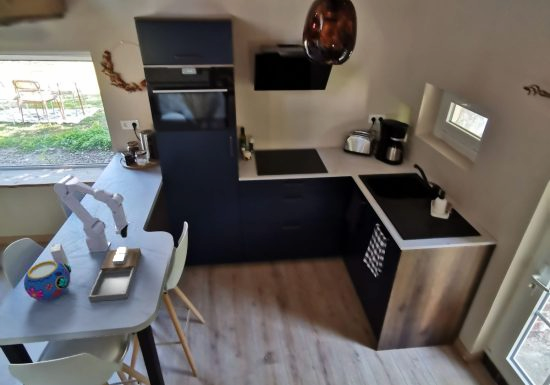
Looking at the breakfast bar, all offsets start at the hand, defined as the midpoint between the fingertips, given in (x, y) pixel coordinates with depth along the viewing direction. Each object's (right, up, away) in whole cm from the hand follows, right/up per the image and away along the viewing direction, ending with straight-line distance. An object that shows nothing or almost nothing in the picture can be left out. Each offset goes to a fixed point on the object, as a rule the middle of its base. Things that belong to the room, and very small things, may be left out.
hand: (124, 236), depth 180 cm
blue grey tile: (+2, -11, -9) cm, 14 cm away
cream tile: (+1, -8, -4) cm, 9 cm away
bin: (+4, -21, -19) cm, 29 cm away
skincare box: (-29, -14, -7) cm, 33 cm away
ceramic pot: (-23, -23, -23) cm, 40 cm away
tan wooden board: (+1, -13, -5) cm, 14 cm away
